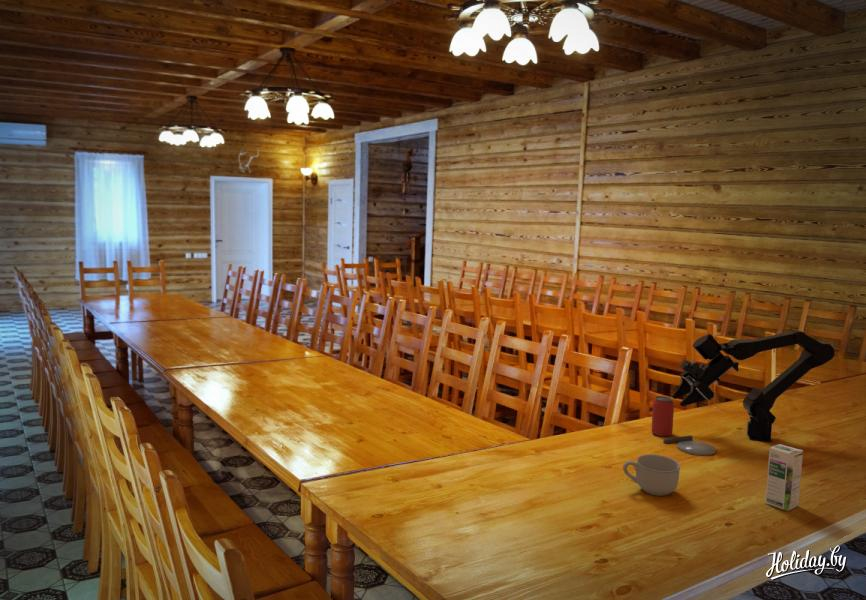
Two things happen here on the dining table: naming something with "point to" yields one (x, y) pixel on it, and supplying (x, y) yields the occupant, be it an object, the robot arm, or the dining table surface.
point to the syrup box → (784, 477)
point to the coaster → (696, 448)
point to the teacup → (655, 473)
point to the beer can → (662, 416)
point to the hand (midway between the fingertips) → (676, 401)
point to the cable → (678, 439)
